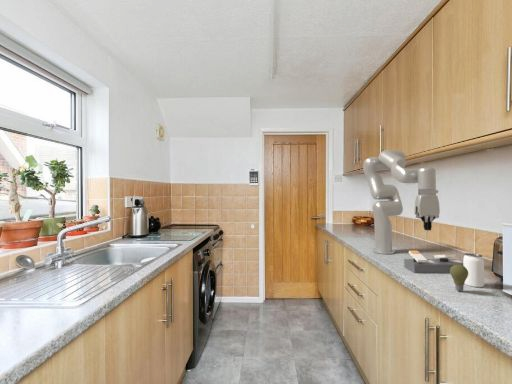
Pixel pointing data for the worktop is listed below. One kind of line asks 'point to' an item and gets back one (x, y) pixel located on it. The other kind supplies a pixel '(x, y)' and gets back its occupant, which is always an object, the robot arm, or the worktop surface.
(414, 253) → the rocker
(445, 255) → the rocker
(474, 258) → the can
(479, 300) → the worktop surface
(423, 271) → the switch panel
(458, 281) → the light bulb
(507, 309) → the worktop surface
